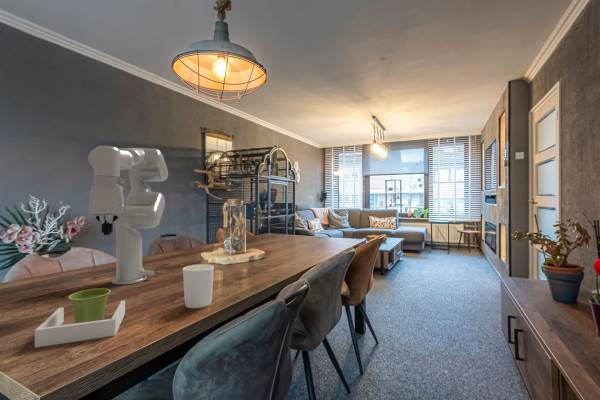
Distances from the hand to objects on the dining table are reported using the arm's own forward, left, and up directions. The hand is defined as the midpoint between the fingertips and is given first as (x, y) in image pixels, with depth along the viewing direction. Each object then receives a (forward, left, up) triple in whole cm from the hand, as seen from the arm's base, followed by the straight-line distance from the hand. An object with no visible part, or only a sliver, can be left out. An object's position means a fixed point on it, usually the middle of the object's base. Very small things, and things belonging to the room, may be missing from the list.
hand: (107, 234), depth 103 cm
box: (0, +26, -22) cm, 34 cm away
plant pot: (0, +24, -22) cm, 33 cm away
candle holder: (-29, +18, -22) cm, 41 cm away
